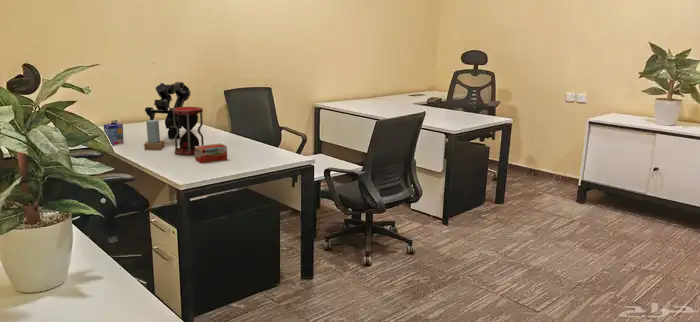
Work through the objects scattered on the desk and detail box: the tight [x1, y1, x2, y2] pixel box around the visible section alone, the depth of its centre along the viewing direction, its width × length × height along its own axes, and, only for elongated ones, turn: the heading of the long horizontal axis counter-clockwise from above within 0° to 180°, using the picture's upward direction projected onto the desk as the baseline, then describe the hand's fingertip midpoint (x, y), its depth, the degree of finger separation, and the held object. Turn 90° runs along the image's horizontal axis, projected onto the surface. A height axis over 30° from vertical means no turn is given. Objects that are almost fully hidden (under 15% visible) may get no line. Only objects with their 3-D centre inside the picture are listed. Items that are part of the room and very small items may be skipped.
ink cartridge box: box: [103, 119, 125, 146], centre depth 324 cm, size 10×6×14 cm, turn 152°
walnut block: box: [143, 140, 166, 151], centre depth 318 cm, size 9×9×4 cm
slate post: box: [145, 119, 161, 143], centre depth 315 cm, size 5×5×12 cm
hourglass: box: [172, 106, 205, 157], centre depth 307 cm, size 16×16×25 cm
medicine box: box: [194, 143, 228, 164], centre depth 294 cm, size 15×8×8 cm, turn 128°
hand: (158, 123), depth 322 cm, fingers open, 9 cm apart
